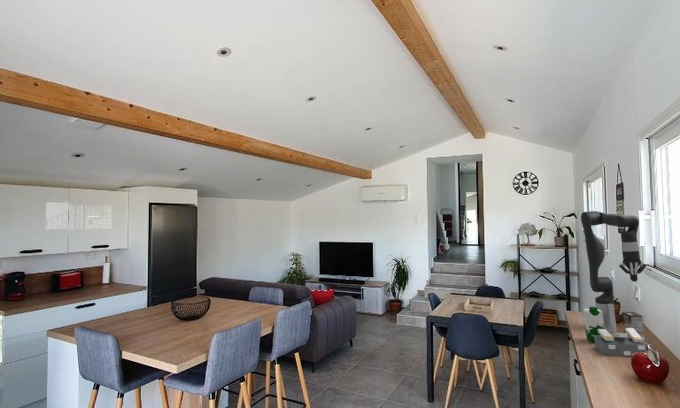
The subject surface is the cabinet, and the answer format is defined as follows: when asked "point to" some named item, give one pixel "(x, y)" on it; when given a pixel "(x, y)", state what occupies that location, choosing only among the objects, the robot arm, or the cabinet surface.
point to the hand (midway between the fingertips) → (634, 281)
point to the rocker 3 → (633, 335)
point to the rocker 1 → (605, 334)
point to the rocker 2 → (620, 334)
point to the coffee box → (633, 323)
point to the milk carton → (593, 322)
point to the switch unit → (619, 346)
